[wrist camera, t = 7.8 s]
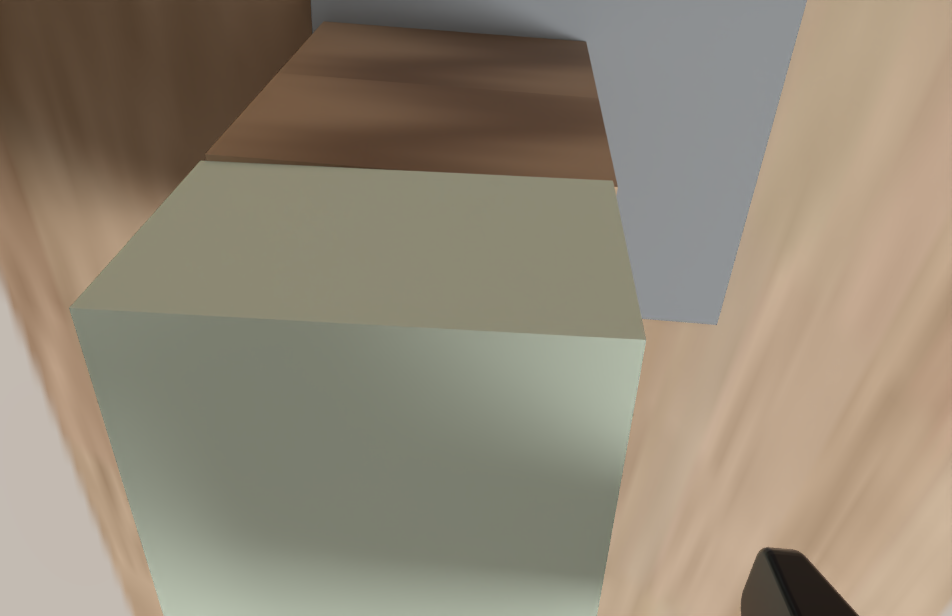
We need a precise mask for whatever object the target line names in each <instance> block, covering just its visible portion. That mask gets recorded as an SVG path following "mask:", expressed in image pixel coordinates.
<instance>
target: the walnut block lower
mask: <svg viewBox="0 0 952 616" xmlns="http://www.w3.org/2000/svg"><path fill="white" fill-rule="evenodd" d="M278 73H284V74H297V75H309V76H322V77H335V78H348V79H361V80H373V81H386V82H399V83H412V84H424V85H437V86H450V87H463V88H475V89H488V90H501V91H514V92H527V93H539V94H552V95H565V96H578V97H590V98H598V93H597V89H596V84H595V80H594V75H593V70H592V66H591V61H590V57H589V52H588V47H587V43H586V42H584V41H572V40H559V39H546V38H533V37H520V36H507V35H494V34H481V33H468V32H455V31H442V30H429V29H416V28H403V27H390V26H377V25H364V24H351V23H338V22H325V21H323V23H322V24H321V25H320V26H319V27H318V28H317V29H316V30H315V32H314V33H313V34H312V35H311V36H310V37H309V38H308V39H307V41H306V42H305V43H304V44H303V45H302V46H301V47H300V48H299V49H298V51H297V52H296V53H295V54H294V55H293V56H292V57H291V58H290V60H289V61H288V62H287V63H286V64H285V65H284V66H283V67H282V68H281V70H280V71H279V72H278Z"/></svg>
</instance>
